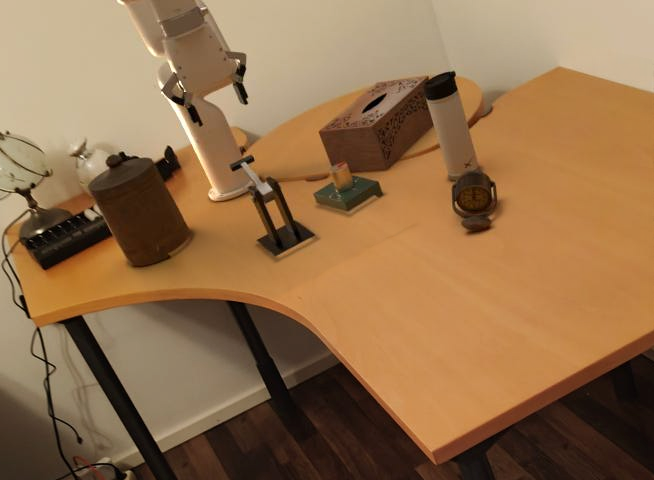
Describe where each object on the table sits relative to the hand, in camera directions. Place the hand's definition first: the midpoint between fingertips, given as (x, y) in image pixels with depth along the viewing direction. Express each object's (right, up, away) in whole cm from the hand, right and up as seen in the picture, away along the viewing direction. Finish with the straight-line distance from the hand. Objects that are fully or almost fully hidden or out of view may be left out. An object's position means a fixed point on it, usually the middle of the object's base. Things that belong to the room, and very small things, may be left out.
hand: (222, 114), depth 162 cm
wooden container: (-19, -22, +25) cm, 38 cm away
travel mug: (+47, -10, +8) cm, 48 cm away
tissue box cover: (+31, +3, +34) cm, 46 cm away
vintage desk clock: (+48, -21, -9) cm, 53 cm away
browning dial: (+22, -11, +13) cm, 28 cm away
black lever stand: (+11, -23, +7) cm, 27 cm away
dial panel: (+23, -13, +14) cm, 31 cm away
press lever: (+6, -12, +4) cm, 14 cm away
